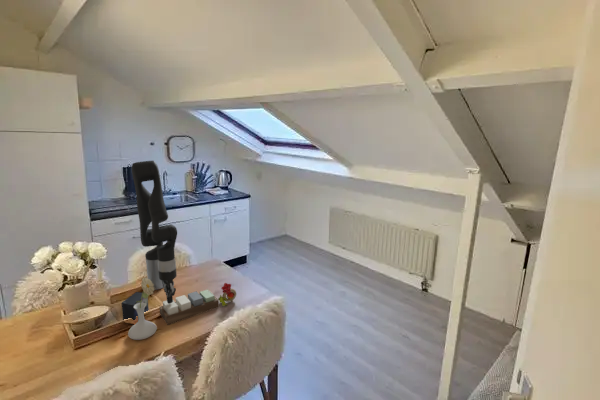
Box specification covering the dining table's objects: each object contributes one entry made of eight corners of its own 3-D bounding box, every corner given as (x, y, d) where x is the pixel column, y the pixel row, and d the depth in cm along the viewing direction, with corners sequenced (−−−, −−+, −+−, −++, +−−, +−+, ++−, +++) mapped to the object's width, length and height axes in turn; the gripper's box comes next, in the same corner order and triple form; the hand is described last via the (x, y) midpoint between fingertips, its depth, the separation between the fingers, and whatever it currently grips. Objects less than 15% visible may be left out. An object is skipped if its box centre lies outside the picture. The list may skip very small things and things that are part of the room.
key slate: (188, 302, 166) (187, 293, 165) (196, 299, 169) (196, 291, 168) (194, 309, 160) (194, 300, 159) (203, 306, 163) (202, 297, 162)
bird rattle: (229, 302, 176) (213, 300, 170) (236, 282, 176) (221, 280, 170) (234, 307, 171) (218, 306, 165) (241, 287, 171) (226, 285, 165)
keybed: (160, 314, 160) (159, 306, 159) (209, 298, 175) (209, 291, 174) (167, 325, 152) (166, 317, 151) (218, 307, 167) (218, 299, 166)
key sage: (199, 299, 170) (199, 291, 169) (208, 297, 173) (207, 289, 172) (206, 306, 164) (206, 298, 163) (214, 303, 167) (214, 295, 166)
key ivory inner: (176, 306, 163) (175, 297, 162) (185, 303, 165) (184, 294, 164) (182, 313, 157) (181, 304, 156) (191, 310, 159) (190, 301, 158)
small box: (135, 325, 151) (133, 304, 149) (122, 323, 152) (120, 302, 150) (150, 312, 161) (148, 293, 159) (138, 311, 162) (135, 291, 160)
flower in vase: (143, 345, 138) (137, 290, 132) (122, 338, 142) (115, 285, 136) (165, 327, 150) (161, 276, 144) (145, 322, 154) (140, 271, 148)
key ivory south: (163, 310, 159) (162, 301, 158) (172, 307, 162) (172, 298, 161) (169, 317, 153) (168, 309, 152) (178, 314, 156) (178, 305, 155)
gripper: (154, 265, 155) (157, 299, 159) (163, 275, 145) (166, 311, 149) (170, 261, 159) (173, 294, 163) (180, 270, 149) (183, 305, 153)
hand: (169, 302), depth 156 cm, fingers closed
